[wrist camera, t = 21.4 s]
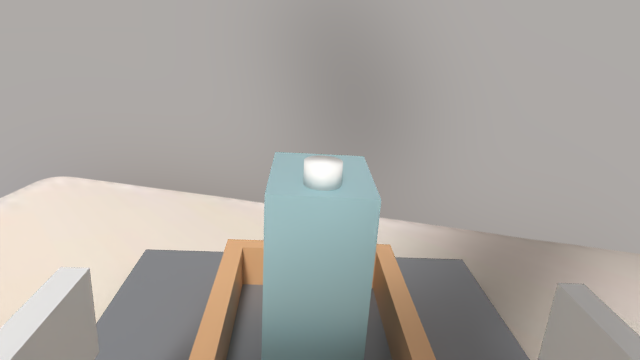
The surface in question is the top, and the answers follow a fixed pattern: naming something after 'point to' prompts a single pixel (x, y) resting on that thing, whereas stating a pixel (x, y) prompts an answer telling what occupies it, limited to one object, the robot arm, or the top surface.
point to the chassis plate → (247, 299)
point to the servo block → (318, 257)
